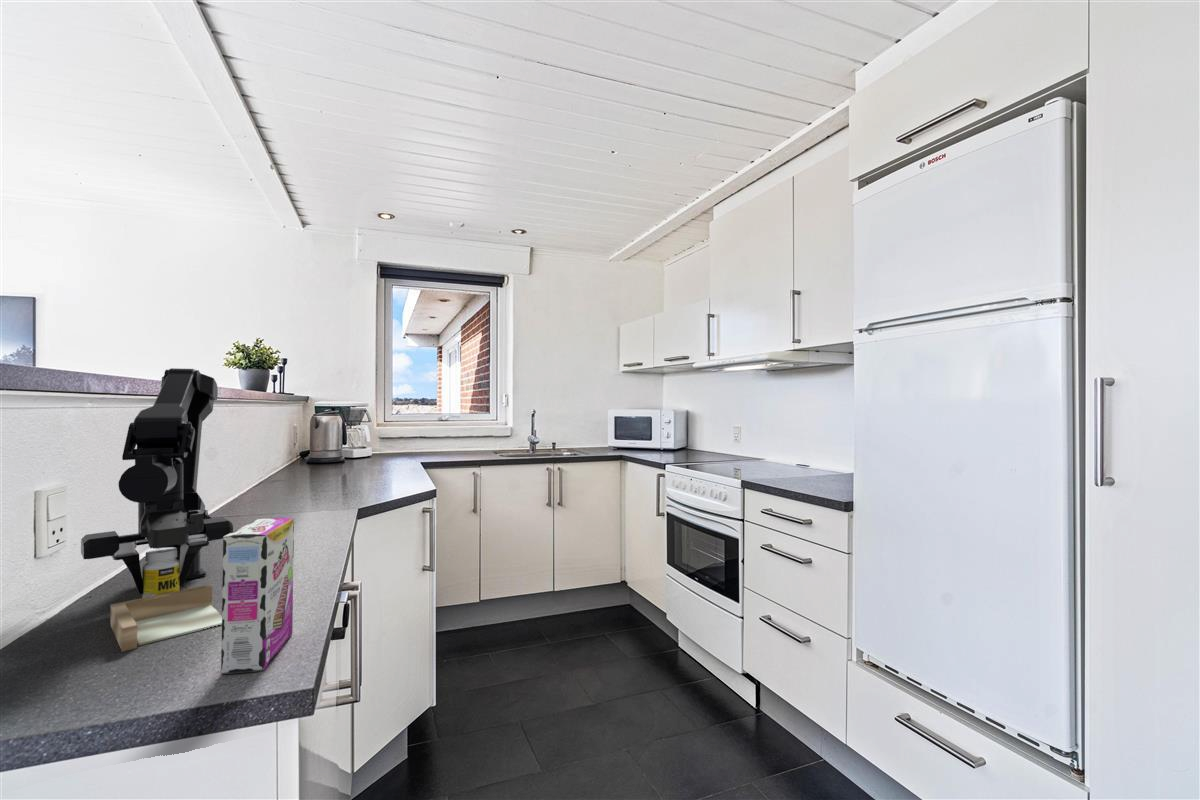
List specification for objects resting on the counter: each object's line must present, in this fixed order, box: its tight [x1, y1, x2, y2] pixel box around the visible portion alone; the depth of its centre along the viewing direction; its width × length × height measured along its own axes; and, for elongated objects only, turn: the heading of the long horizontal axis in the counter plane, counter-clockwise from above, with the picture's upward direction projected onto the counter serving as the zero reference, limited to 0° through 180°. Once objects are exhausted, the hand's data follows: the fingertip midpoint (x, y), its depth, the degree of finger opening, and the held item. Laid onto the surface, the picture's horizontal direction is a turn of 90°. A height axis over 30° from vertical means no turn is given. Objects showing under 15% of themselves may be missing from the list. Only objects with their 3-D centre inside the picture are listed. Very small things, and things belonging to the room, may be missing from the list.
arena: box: [109, 584, 222, 653], centre depth 80 cm, size 12×12×3 cm
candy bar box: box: [220, 517, 295, 675], centre depth 71 cm, size 11×5×16 cm, turn 13°
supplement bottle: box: [141, 547, 181, 598], centre depth 90 cm, size 5×5×8 cm
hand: (161, 589), depth 90 cm, fingers closed on supplement bottle, 5 cm apart
